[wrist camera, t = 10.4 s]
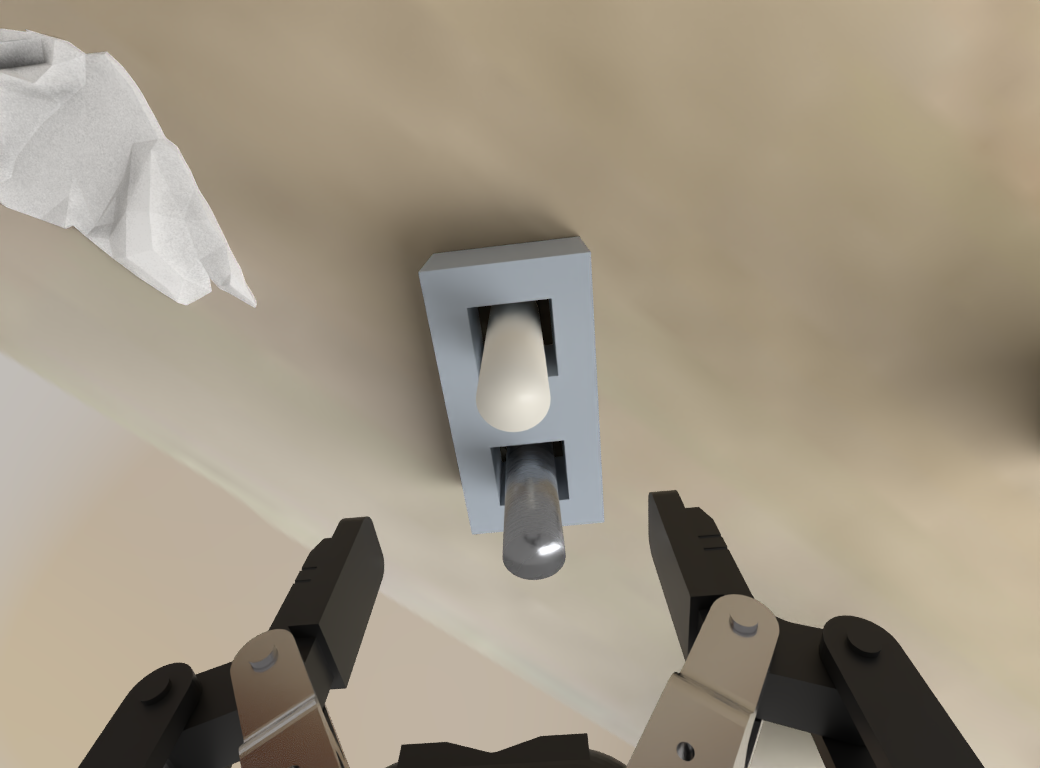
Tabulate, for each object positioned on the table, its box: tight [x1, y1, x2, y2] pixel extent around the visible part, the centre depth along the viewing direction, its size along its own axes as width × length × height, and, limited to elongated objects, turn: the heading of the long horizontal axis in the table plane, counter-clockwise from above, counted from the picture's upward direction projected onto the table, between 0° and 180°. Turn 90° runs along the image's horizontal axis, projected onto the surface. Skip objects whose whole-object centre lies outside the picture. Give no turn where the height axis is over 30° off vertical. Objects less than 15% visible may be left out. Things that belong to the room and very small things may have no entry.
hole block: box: [418, 236, 604, 534], centre depth 31 cm, size 9×18×5 cm, turn 7°
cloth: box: [0, 28, 257, 308], centre depth 27 cm, size 26×14×2 cm, turn 40°
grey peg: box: [503, 442, 566, 580], centre depth 30 cm, size 3×3×12 cm
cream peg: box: [476, 300, 551, 432], centre depth 26 cm, size 3×3×12 cm
